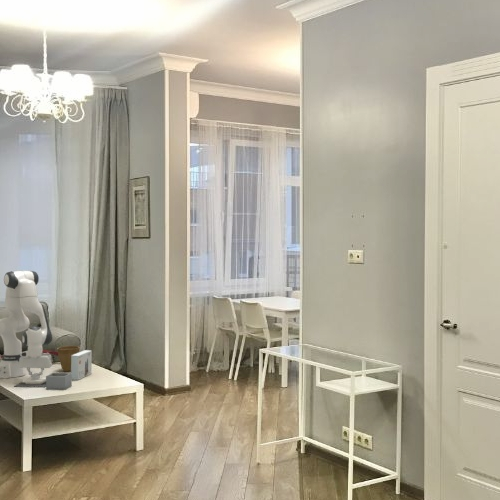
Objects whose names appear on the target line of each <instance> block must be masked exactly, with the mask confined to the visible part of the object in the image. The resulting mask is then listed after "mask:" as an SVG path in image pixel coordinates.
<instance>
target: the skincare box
mask: <svg viewBox="0 0 500 500" xmlns="http://www.w3.org/2000/svg"><path fill="white" fill-rule="evenodd" d="M92 351H93V350H89V349H86V350H85V349H84V350H82V351H79V353H76V354H74V355H71V372H70V373H72V381H78V380H81V379H83V378H85V376H86V377H88V376H90V375H92V364H93V363H92V358H93V357H92V356H93V352H92Z"/></svg>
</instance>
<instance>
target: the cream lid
mask: <svg viewBox="0 0 500 500" xmlns="http://www.w3.org/2000/svg"><path fill="white" fill-rule="evenodd" d="M21 382H23V383H26V384H37V385H41V384H43V383H44V382H46V377H41V375H39V372H35V373H32V375H30V377H27V378H26V379H23V380H22V381H21Z"/></svg>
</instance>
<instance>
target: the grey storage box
mask: <svg viewBox="0 0 500 500" xmlns="http://www.w3.org/2000/svg"><path fill="white" fill-rule="evenodd" d="M45 378H46V387H45V389H46V390H51V391H52V390H54V391H56V390H57V391H58V390H59V391H60V390H61V391H65V390H68V389H69V388H71V387H72V386H73V383H72V381H73V380H72V373H71V372H52V373H50V374H47V375H46V376H45Z"/></svg>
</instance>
